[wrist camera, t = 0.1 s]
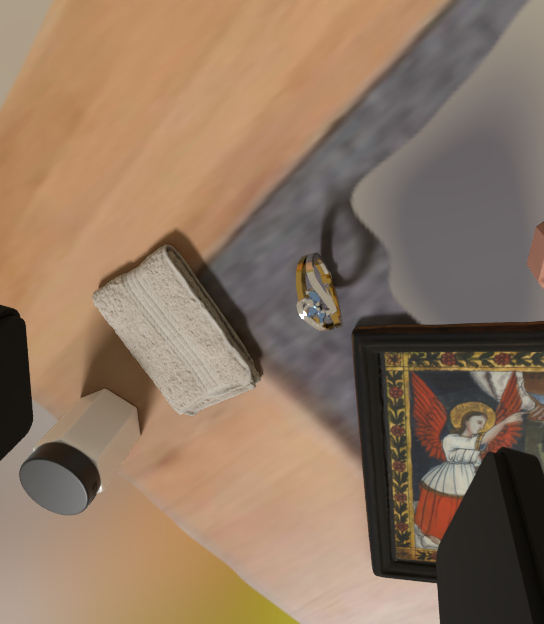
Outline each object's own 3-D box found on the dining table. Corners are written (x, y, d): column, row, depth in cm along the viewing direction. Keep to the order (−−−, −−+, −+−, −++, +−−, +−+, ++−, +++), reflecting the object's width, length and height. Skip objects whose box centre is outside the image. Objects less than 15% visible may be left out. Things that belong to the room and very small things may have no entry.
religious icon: (313, 329, 51) (309, 343, 49) (734, 273, 40) (755, 287, 38) (379, 580, 66) (378, 601, 63) (700, 589, 55) (715, 615, 52)
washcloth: (190, 409, 60) (180, 426, 57) (94, 289, 55) (79, 301, 52) (270, 373, 55) (263, 390, 52) (172, 237, 50) (159, 248, 47)
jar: (104, 449, 66) (48, 523, 55) (67, 401, 63) (1, 469, 53) (155, 432, 62) (106, 508, 52) (118, 381, 60) (59, 449, 49)
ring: (299, 246, 47) (282, 279, 40) (332, 237, 46) (319, 269, 39) (323, 310, 49) (310, 352, 42) (354, 303, 48) (346, 344, 41)
